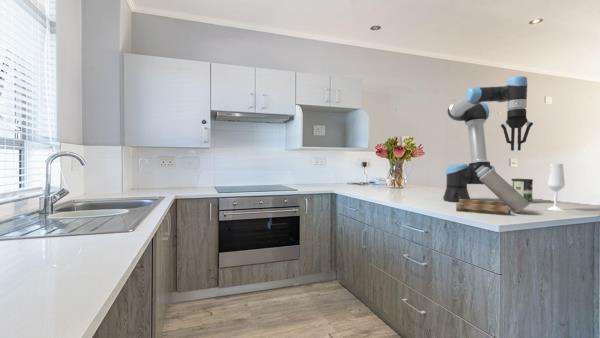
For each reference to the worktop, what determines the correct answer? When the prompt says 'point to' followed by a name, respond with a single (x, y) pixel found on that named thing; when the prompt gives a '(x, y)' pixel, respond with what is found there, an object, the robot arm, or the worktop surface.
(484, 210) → the cradle
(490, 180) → the thermos bottle
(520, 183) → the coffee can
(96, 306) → the worktop surface
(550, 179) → the champagne flute
